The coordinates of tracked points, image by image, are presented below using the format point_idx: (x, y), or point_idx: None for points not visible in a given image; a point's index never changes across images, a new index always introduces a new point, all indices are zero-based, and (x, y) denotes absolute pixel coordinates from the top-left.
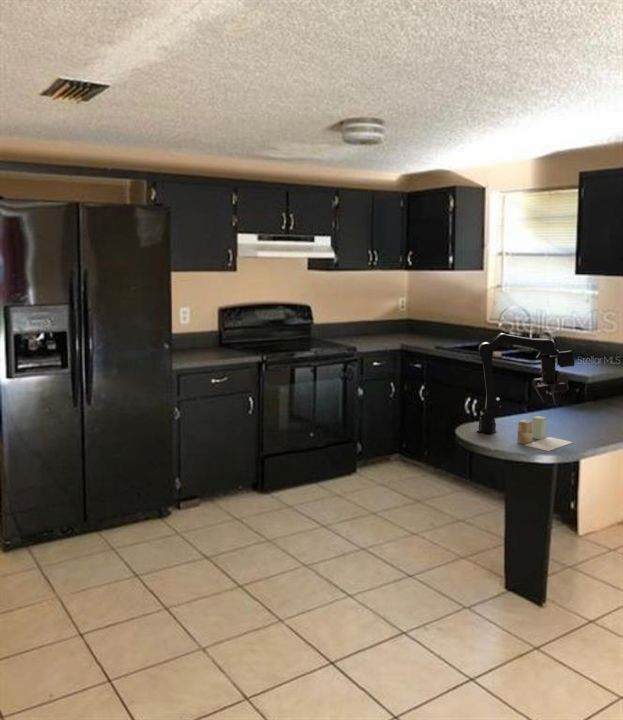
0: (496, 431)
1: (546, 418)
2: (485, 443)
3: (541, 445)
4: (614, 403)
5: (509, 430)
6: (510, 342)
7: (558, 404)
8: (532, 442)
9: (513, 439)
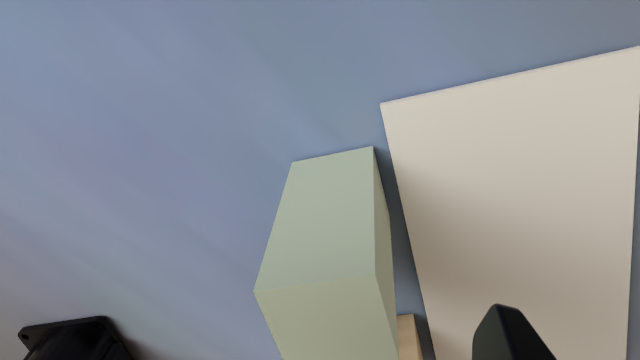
0: (105, 325)
1: (376, 271)
2: None
3: None
4: None
5: (63, 211)
6: None
7: (535, 337)
8: (428, 321)
9: None
